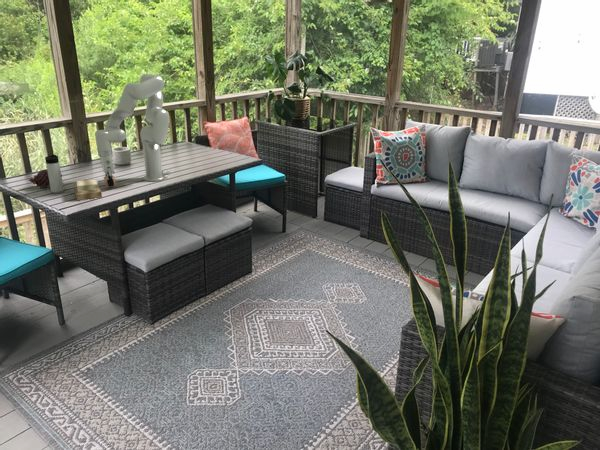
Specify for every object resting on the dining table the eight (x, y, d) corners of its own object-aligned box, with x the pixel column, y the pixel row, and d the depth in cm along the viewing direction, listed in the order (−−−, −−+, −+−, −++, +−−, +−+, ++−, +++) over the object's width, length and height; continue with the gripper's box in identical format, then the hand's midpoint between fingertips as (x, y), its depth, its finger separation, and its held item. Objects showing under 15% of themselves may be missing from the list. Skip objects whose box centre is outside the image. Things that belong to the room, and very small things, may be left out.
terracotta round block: (114, 183, 275) (113, 174, 273) (116, 186, 270) (115, 177, 268) (104, 184, 272) (103, 176, 270) (106, 187, 268) (104, 179, 266)
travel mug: (66, 190, 267) (60, 154, 259) (61, 193, 261) (54, 157, 253) (54, 189, 266) (48, 154, 259) (49, 193, 260) (42, 157, 253)
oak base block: (98, 192, 266) (97, 185, 265) (102, 198, 257) (101, 191, 255) (75, 195, 261) (74, 188, 259) (77, 201, 251) (76, 194, 250)
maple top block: (97, 185, 264) (96, 178, 262) (98, 191, 256) (97, 184, 254) (77, 187, 260) (76, 180, 259) (78, 193, 252) (76, 185, 250)
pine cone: (59, 181, 281) (57, 164, 277) (67, 185, 275) (65, 168, 271) (27, 188, 268) (24, 170, 264) (35, 192, 262) (32, 174, 258)
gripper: (115, 155, 259) (120, 187, 266) (109, 148, 273) (114, 179, 280) (100, 157, 255) (105, 189, 263) (95, 150, 269) (100, 181, 276)
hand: (110, 184), depth 271 cm, fingers closed on terracotta round block, 5 cm apart
